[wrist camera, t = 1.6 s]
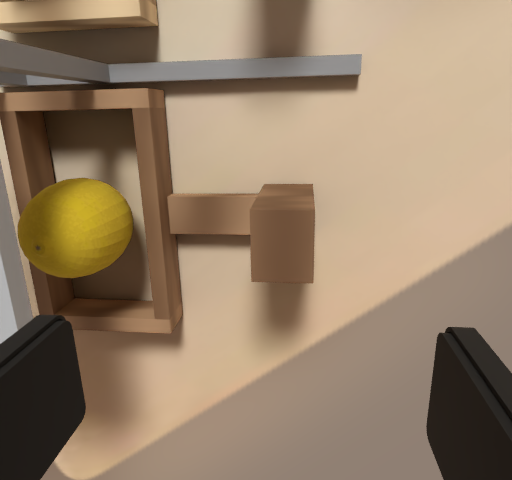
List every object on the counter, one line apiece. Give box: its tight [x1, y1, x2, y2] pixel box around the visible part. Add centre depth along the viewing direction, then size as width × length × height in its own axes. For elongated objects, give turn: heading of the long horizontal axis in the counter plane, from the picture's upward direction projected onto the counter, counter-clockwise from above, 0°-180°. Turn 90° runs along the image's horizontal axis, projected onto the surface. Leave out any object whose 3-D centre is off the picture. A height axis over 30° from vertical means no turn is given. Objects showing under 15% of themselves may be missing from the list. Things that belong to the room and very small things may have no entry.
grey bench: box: [0, 39, 362, 344], centre depth 21 cm, size 22×15×12 cm
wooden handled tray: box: [0, 88, 315, 333], centre depth 24 cm, size 18×15×7 cm
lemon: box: [18, 178, 133, 278], centre depth 24 cm, size 6×6×8 cm
